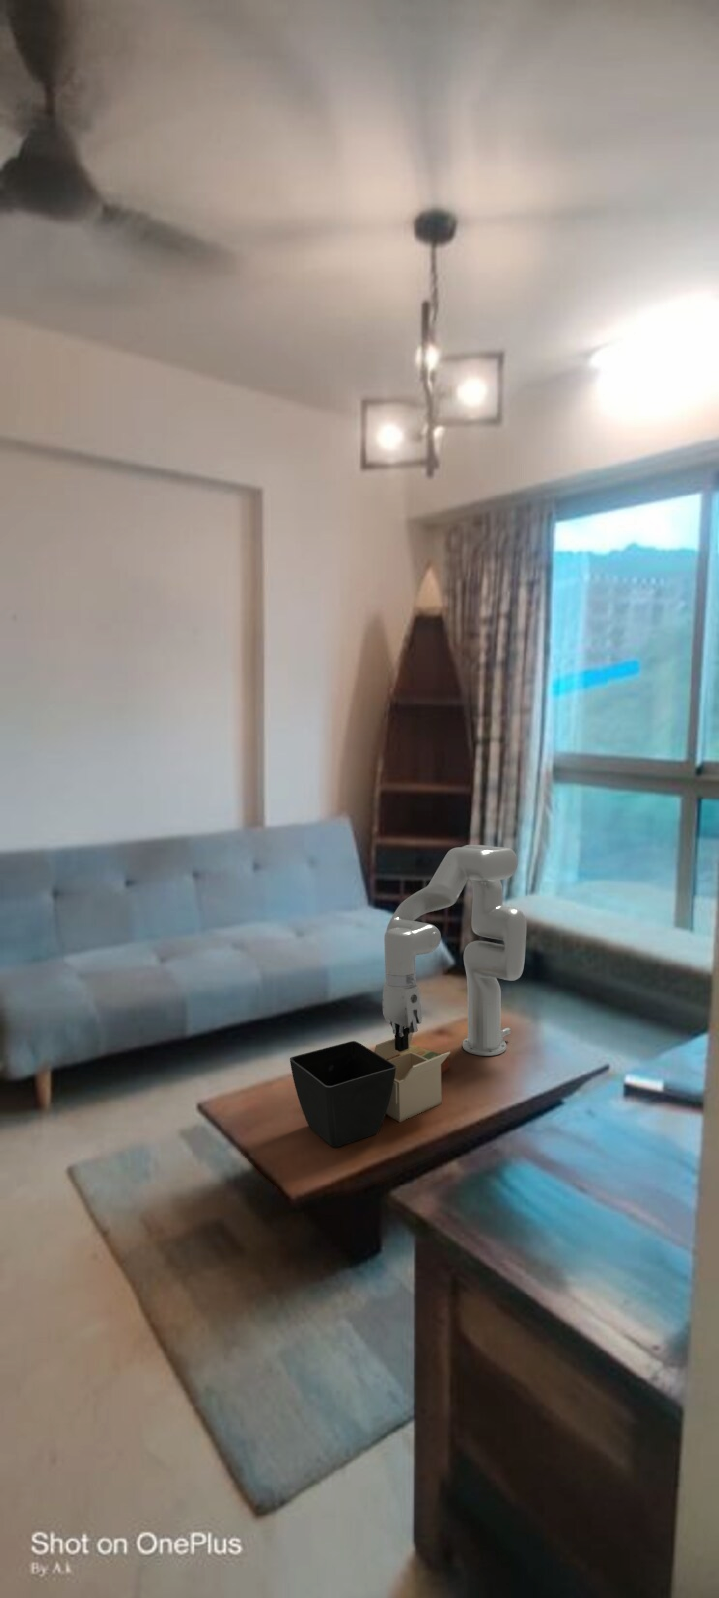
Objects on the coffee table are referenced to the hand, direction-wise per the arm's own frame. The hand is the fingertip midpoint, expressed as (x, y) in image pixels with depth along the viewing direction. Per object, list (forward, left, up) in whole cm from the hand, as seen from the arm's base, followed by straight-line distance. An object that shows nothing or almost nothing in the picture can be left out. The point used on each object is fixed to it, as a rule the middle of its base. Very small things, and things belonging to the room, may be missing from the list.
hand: (401, 1049), depth 198 cm
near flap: (0, +9, -1) cm, 9 cm away
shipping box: (0, +1, -14) cm, 14 cm away
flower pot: (+19, 0, -14) cm, 24 cm away
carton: (-17, -13, -15) cm, 26 cm away
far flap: (0, -3, -1) cm, 3 cm away
